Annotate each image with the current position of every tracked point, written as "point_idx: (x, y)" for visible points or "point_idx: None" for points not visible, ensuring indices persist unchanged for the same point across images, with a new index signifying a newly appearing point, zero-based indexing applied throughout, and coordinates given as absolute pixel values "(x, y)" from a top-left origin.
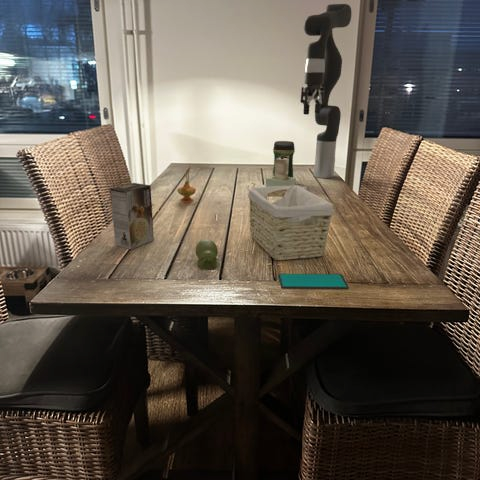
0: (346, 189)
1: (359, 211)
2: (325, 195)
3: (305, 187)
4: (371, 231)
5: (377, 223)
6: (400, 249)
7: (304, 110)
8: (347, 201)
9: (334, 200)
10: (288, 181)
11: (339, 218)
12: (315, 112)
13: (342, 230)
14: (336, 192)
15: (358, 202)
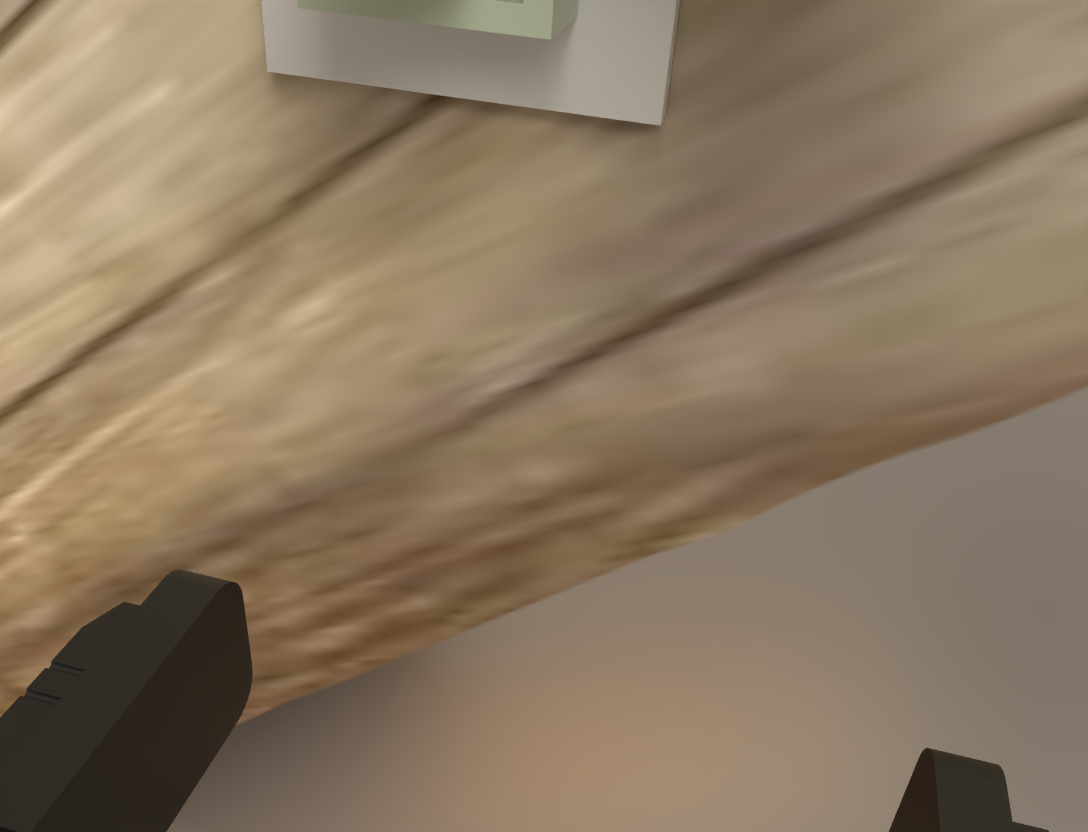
0: (953, 429)
1: (349, 623)
2: (587, 342)
3: (652, 111)
4: None
5: None
6: None
7: (72, 682)
8: (522, 525)
9: (483, 446)
10: (400, 17)
11: (146, 563)
12: (926, 781)
13: (11, 609)
14: (763, 387)
15: (549, 588)
